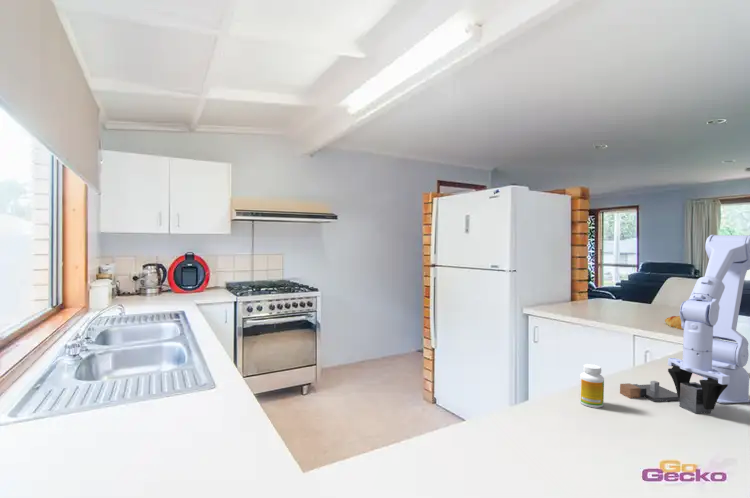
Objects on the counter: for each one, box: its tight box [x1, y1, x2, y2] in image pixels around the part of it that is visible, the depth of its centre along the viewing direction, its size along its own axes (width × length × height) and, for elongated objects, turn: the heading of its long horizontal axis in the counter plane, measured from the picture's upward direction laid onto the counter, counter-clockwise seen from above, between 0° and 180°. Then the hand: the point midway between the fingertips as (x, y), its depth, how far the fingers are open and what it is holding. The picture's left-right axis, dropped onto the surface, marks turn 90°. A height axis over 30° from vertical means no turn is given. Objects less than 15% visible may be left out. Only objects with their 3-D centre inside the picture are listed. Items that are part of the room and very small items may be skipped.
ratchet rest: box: [619, 380, 680, 403], centre depth 110 cm, size 14×9×4 cm, turn 99°
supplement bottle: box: [578, 363, 605, 409], centre depth 103 cm, size 5×5×10 cm
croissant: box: [664, 315, 684, 331], centre depth 198 cm, size 21×10×8 cm, turn 6°
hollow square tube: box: [679, 381, 712, 415], centre depth 100 cm, size 4×4×6 cm
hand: (695, 403), depth 101 cm, fingers open, 6 cm apart
